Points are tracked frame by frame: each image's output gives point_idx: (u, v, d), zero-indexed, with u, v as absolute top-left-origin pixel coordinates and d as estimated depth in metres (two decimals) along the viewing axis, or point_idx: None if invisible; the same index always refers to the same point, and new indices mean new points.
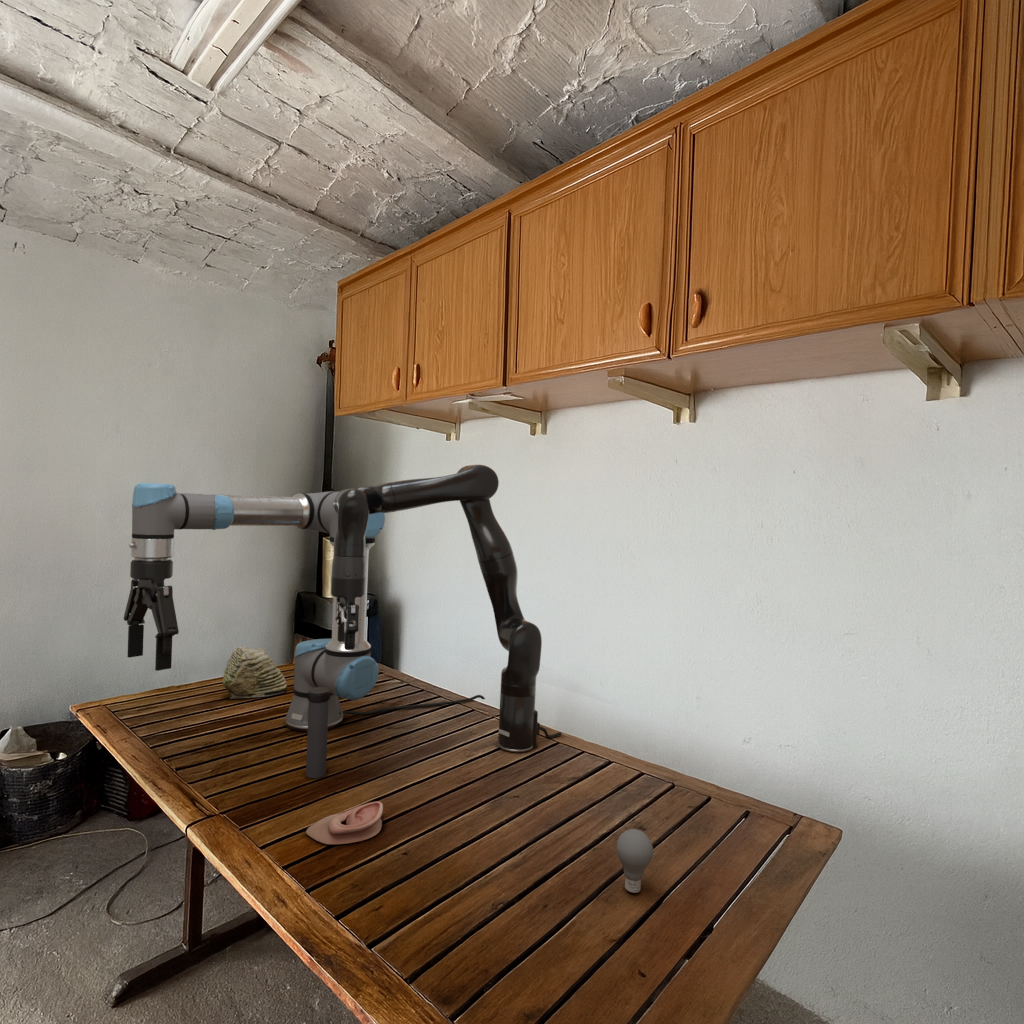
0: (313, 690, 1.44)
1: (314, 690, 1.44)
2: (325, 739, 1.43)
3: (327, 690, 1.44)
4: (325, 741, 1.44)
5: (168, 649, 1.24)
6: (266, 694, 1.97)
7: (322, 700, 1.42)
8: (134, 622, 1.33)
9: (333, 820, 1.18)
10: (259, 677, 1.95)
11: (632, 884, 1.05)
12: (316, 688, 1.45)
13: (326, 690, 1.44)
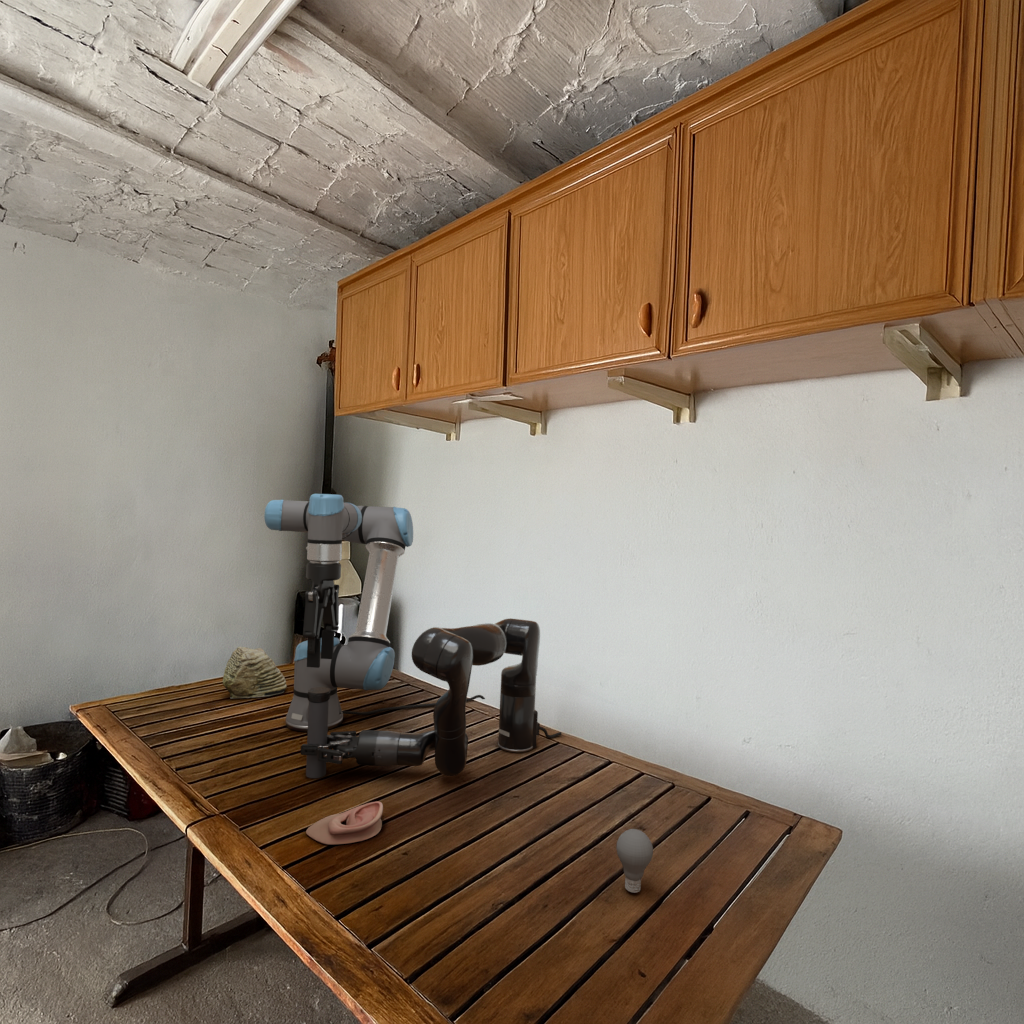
0: (313, 690, 1.44)
1: (314, 690, 1.44)
2: (325, 739, 1.43)
3: (327, 690, 1.44)
4: (325, 741, 1.44)
5: (312, 649, 1.39)
6: (266, 694, 1.97)
7: (322, 700, 1.42)
8: (327, 626, 1.48)
9: (333, 820, 1.18)
10: (259, 677, 1.95)
11: (632, 884, 1.05)
12: (316, 688, 1.45)
13: (326, 690, 1.44)
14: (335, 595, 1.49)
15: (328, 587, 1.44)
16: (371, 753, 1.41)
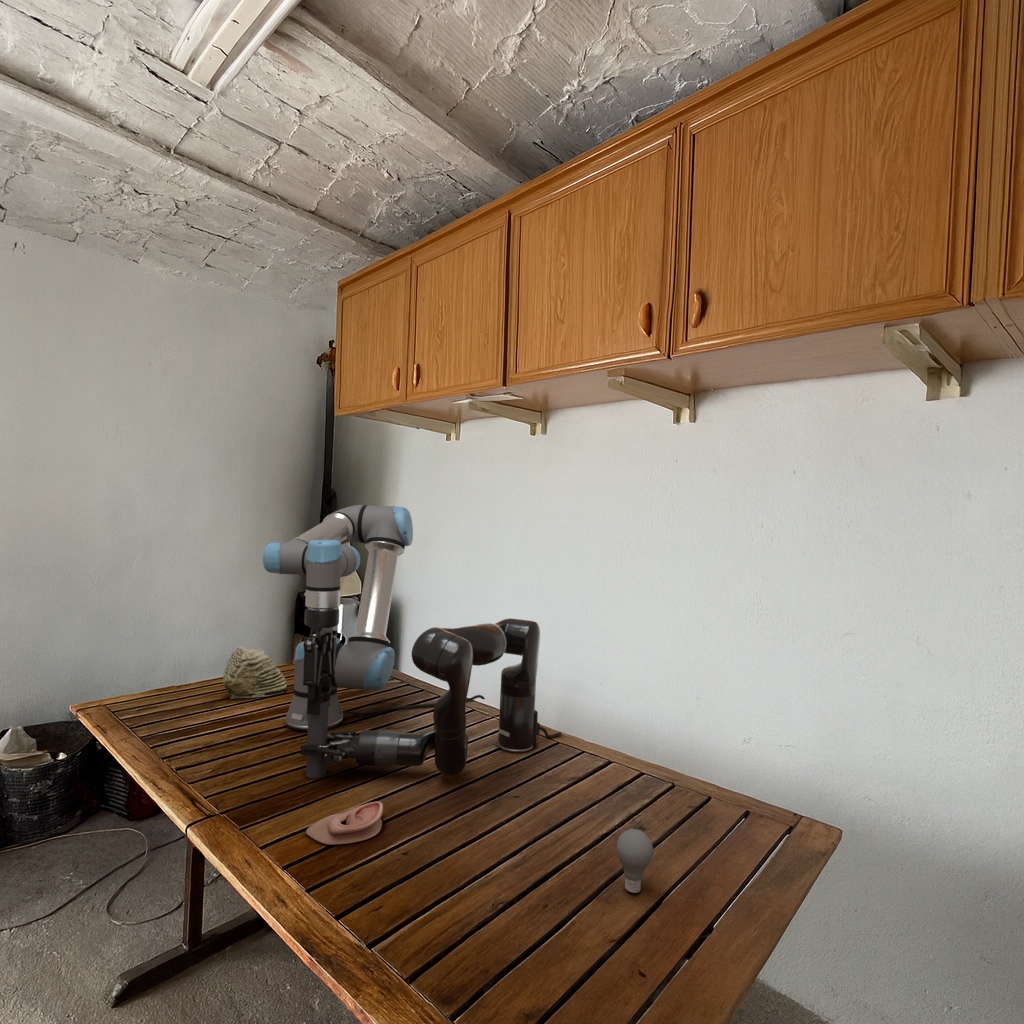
0: None
1: None
2: (325, 739, 1.43)
3: (327, 690, 1.44)
4: (325, 741, 1.44)
5: (312, 697, 1.40)
6: (266, 694, 1.97)
7: (322, 700, 1.42)
8: (324, 674, 1.47)
9: (333, 820, 1.18)
10: (259, 677, 1.95)
11: (632, 884, 1.05)
12: None
13: (326, 690, 1.44)
14: (333, 641, 1.49)
15: (326, 633, 1.44)
16: (371, 753, 1.41)
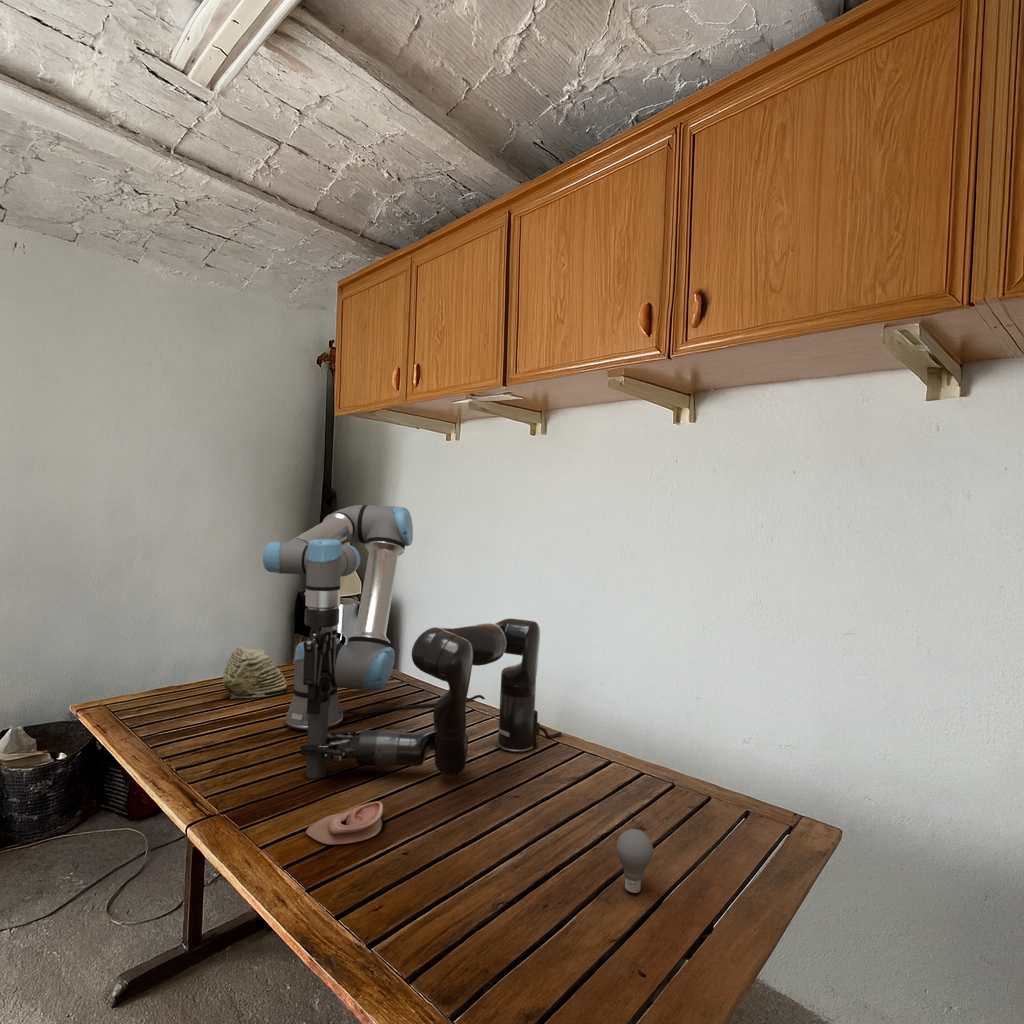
0: None
1: None
2: (325, 739, 1.43)
3: (322, 687, 1.46)
4: (325, 741, 1.44)
5: (312, 697, 1.40)
6: (266, 694, 1.97)
7: None
8: (324, 673, 1.47)
9: (333, 820, 1.18)
10: (259, 677, 1.95)
11: (632, 884, 1.05)
12: None
13: (322, 687, 1.46)
14: (333, 640, 1.49)
15: (326, 633, 1.44)
16: (371, 753, 1.41)
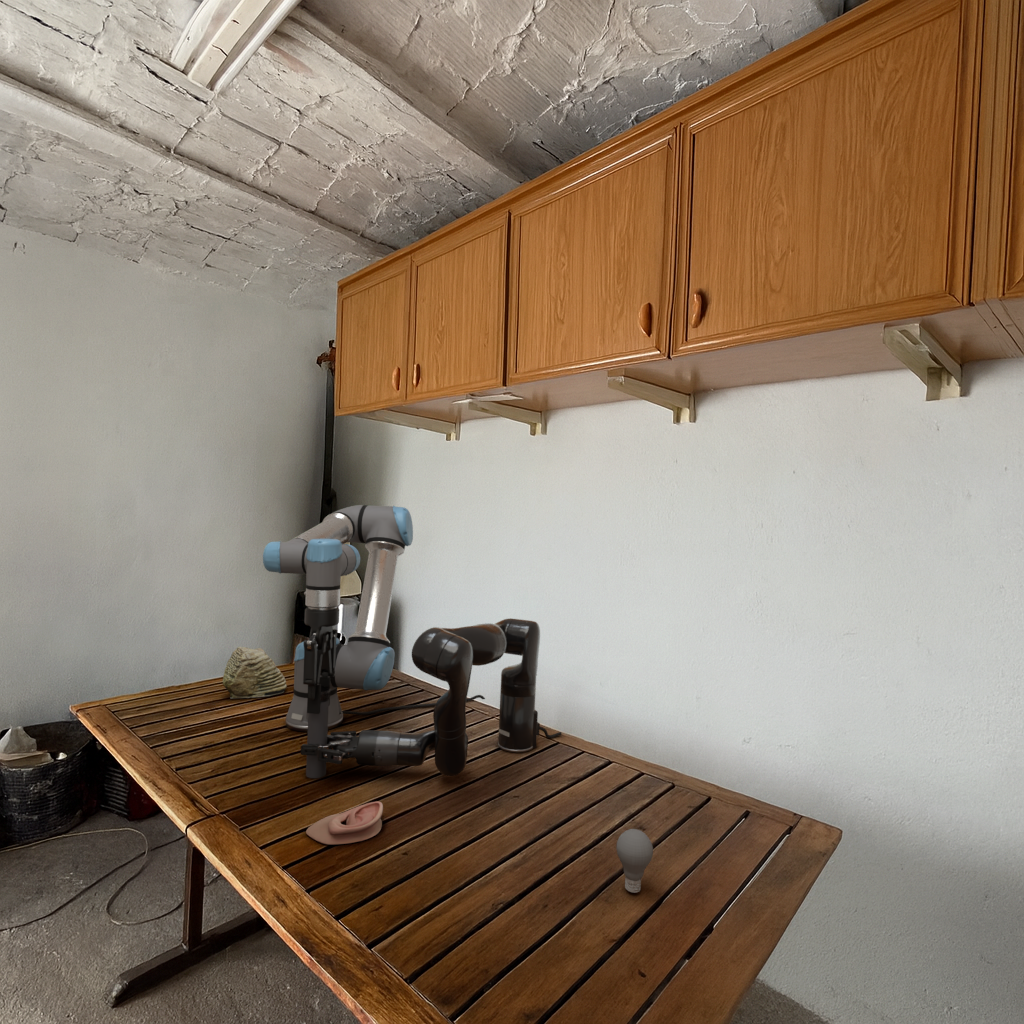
0: (324, 689, 1.44)
1: (323, 689, 1.44)
2: (325, 739, 1.43)
3: None
4: (325, 741, 1.44)
5: (312, 696, 1.40)
6: (266, 694, 1.97)
7: None
8: (324, 673, 1.47)
9: (333, 820, 1.18)
10: (259, 677, 1.95)
11: (632, 884, 1.05)
12: None
13: None
14: (333, 640, 1.49)
15: (326, 632, 1.44)
16: (371, 753, 1.41)
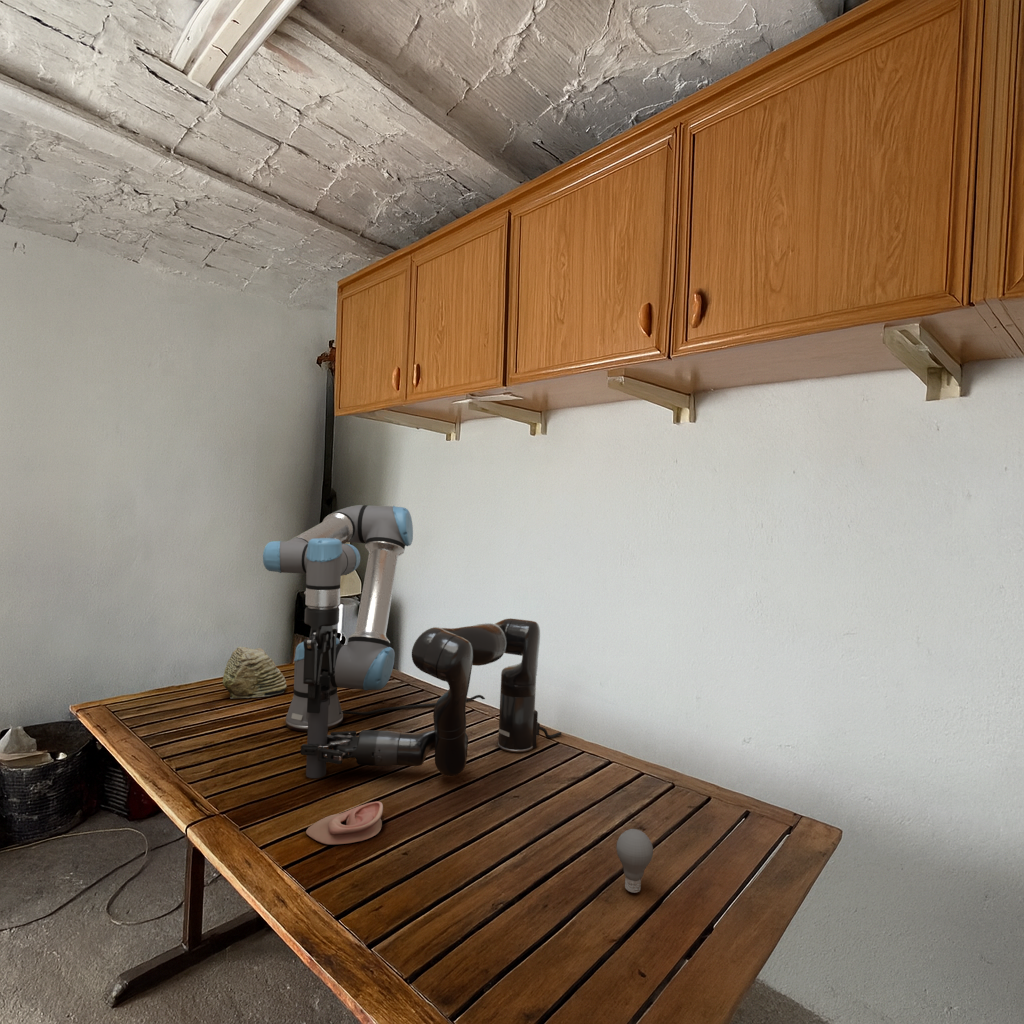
0: (321, 687, 1.45)
1: None
2: (325, 739, 1.43)
3: None
4: (325, 741, 1.44)
5: (312, 696, 1.40)
6: (266, 694, 1.97)
7: None
8: (324, 672, 1.47)
9: (333, 820, 1.18)
10: (259, 677, 1.95)
11: (632, 884, 1.05)
12: (327, 688, 1.44)
13: None
14: (333, 639, 1.49)
15: (326, 632, 1.44)
16: (371, 753, 1.41)
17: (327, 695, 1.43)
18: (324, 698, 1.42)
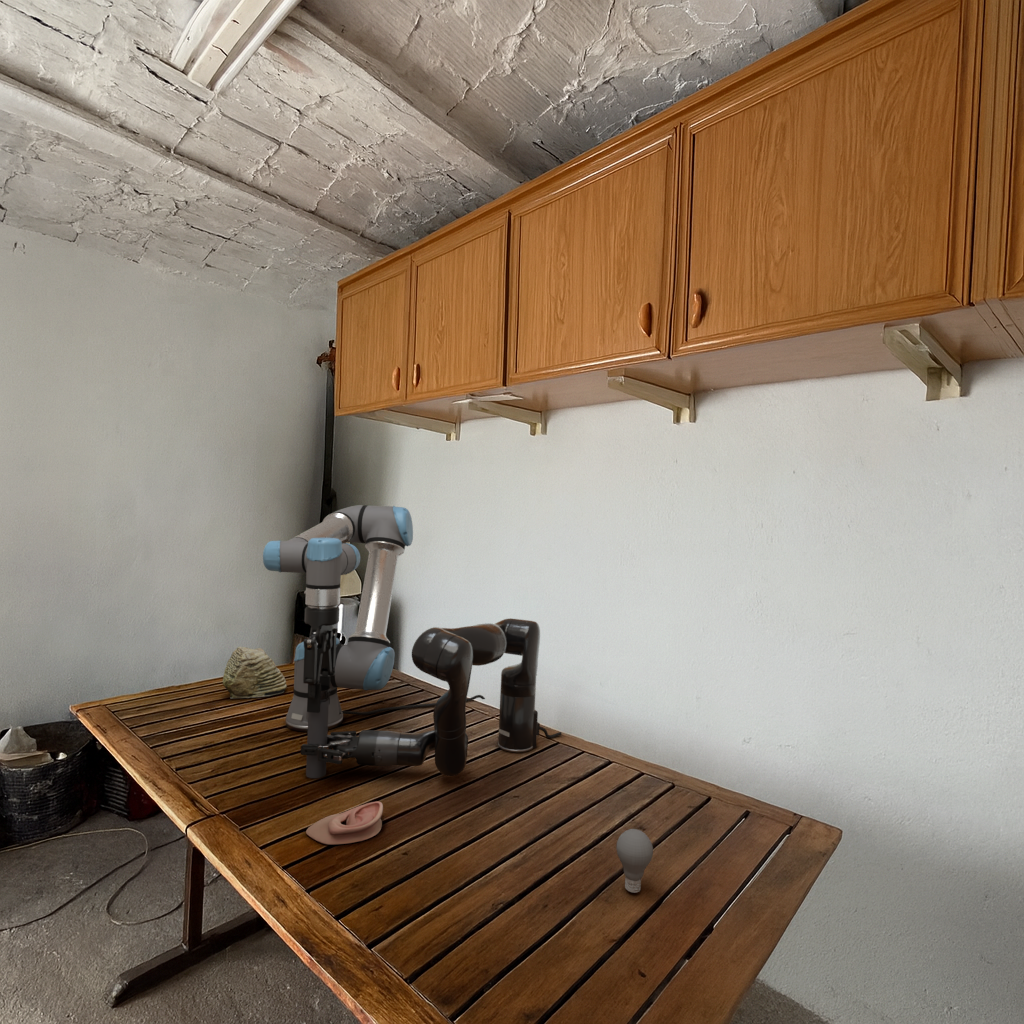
0: None
1: None
2: (325, 739, 1.43)
3: (325, 689, 1.43)
4: (325, 741, 1.44)
5: (312, 695, 1.40)
6: (266, 694, 1.97)
7: None
8: (324, 672, 1.47)
9: (333, 820, 1.18)
10: (259, 677, 1.95)
11: (632, 884, 1.05)
12: None
13: (324, 689, 1.43)
14: (333, 639, 1.49)
15: (326, 631, 1.44)
16: (371, 753, 1.41)
17: None
18: None
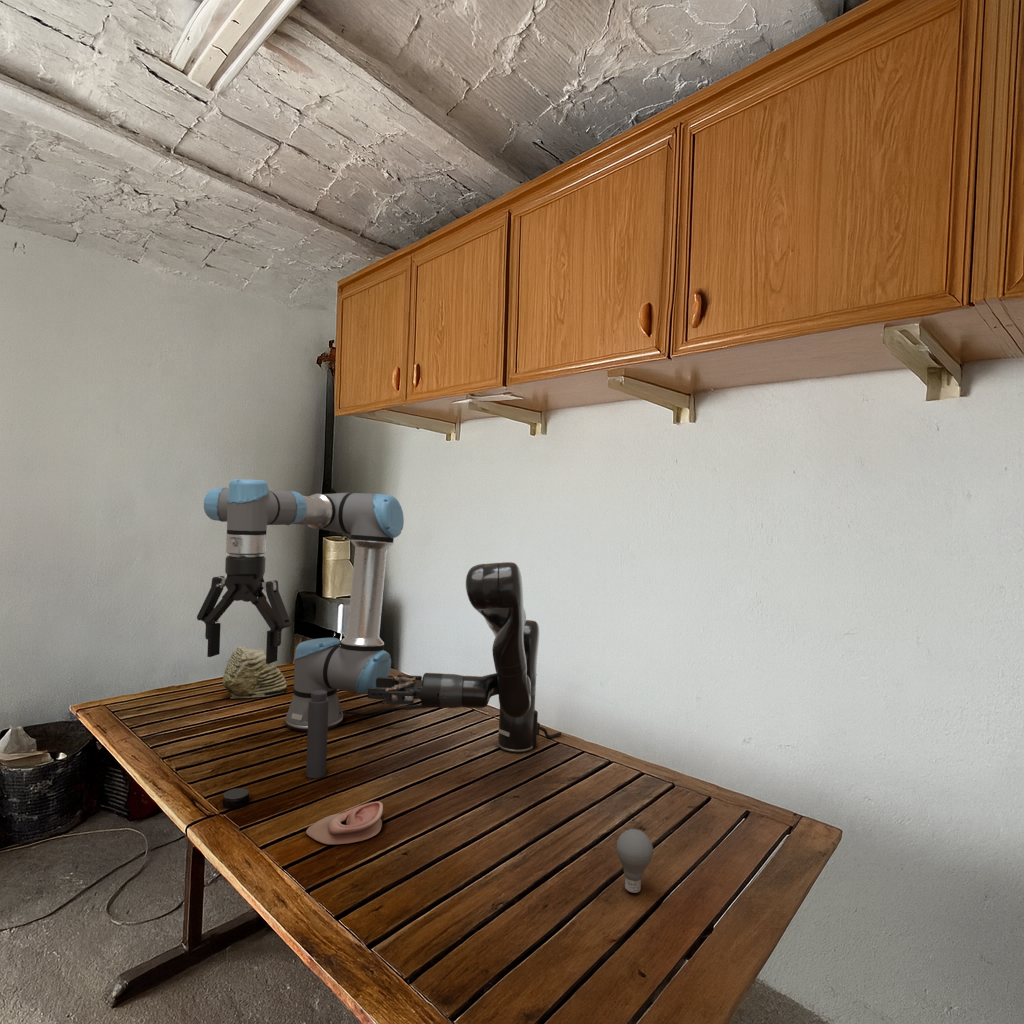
0: (240, 794, 1.29)
1: (240, 794, 1.29)
2: (325, 739, 1.43)
3: (232, 790, 1.31)
4: (325, 741, 1.44)
5: (279, 642, 1.27)
6: (266, 694, 1.97)
7: None
8: (212, 621, 1.31)
9: (333, 820, 1.18)
10: (259, 677, 1.95)
11: (632, 884, 1.05)
12: (231, 797, 1.28)
13: (233, 790, 1.31)
14: (222, 588, 1.31)
15: None
16: (436, 694, 1.40)
17: (224, 802, 1.28)
18: (223, 803, 1.28)
